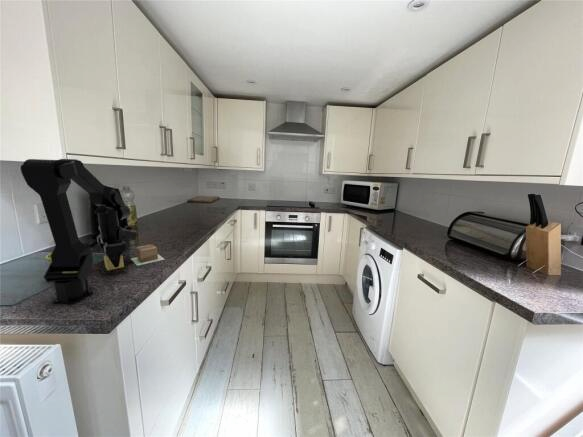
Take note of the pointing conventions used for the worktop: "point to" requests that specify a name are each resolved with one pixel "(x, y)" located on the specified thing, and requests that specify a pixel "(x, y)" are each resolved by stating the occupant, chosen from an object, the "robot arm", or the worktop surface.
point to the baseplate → (147, 261)
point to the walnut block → (147, 253)
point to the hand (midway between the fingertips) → (114, 263)
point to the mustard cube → (110, 266)
